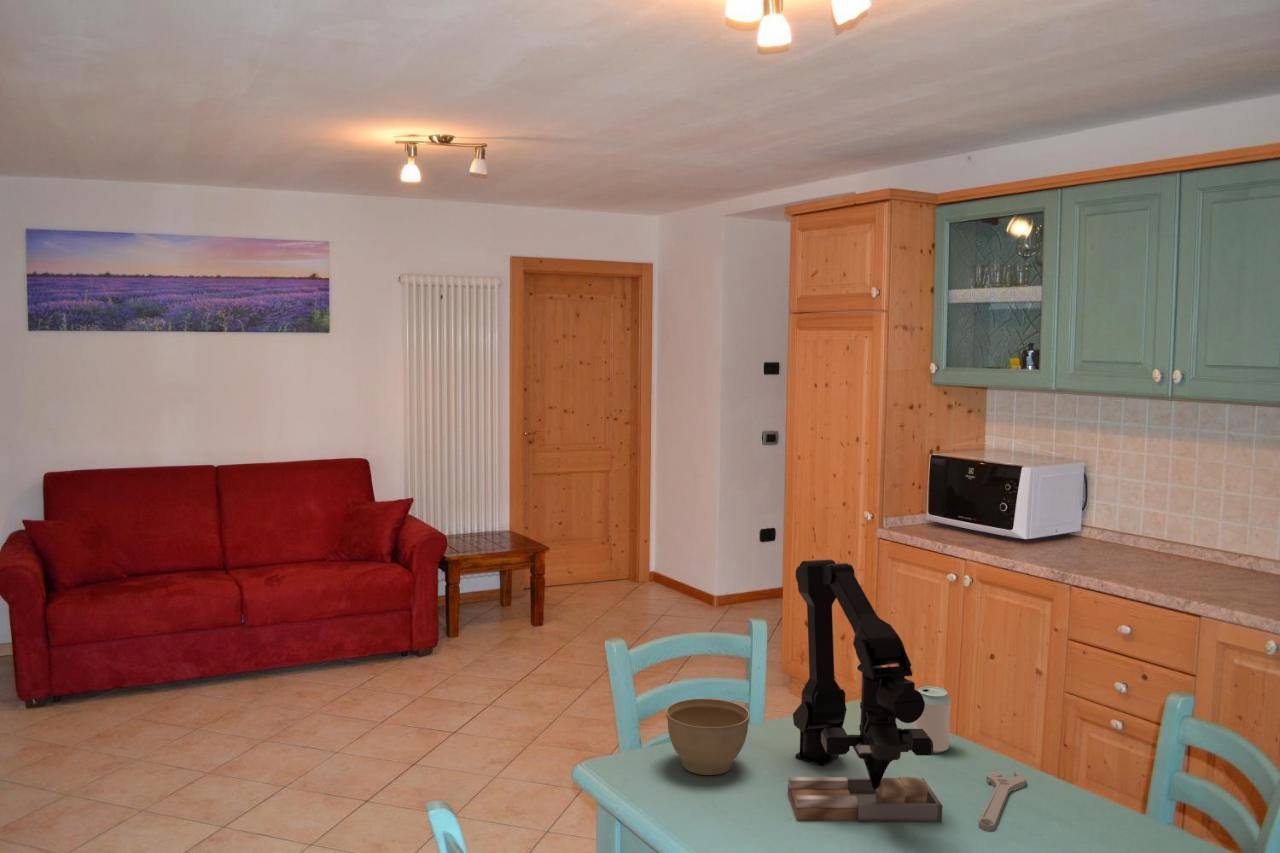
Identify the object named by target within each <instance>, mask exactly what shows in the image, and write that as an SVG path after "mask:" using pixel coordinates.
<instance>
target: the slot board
mask: <svg viewBox="0 0 1280 853" xmlns="http://www.w3.org/2000/svg"><path fill="white" fill-rule="evenodd" d="M847 778H848V777H846V776H845V777H841V776H839V777H838V776H833V777H832V776H826V777H825V776H788V783H787V796H788V797H787V798H788V800H789V802H790V805H791V807H792V810H793V813H794V816H795V819H796V821H857V822H858V808H857V801H858V800H857V798H856V796H851V794H850V793H849V791H848V780H847Z"/></svg>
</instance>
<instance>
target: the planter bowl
mask: <svg viewBox="0 0 1280 853" xmlns="http://www.w3.org/2000/svg"><path fill="white" fill-rule="evenodd" d="M665 714H666V715H665V716H666V719H667V730H668V734H669V739H670V742H671V744H672V747H673V749H674V751H675V753H676V755H678V757H679V758H680V760H681V765H682V767H683V768H684V769H685V770H686V771H688V772H690V773H692V774H696V775H702V776H717V775H722V774H725V773H727V772H728V771H730V769H732V765H733V762H734V761H735V759H737V757H738V756H739V754H740V752H741V751H742V749H743V747H744V744H745V743H746V738H747V736H748V729H749V728H748V727H749V723H750V722H749V721H750V717H751V714H750V712H749V710H748V709H747V708H746V707H745V706H743V705H742V704H740V703H736V702H733V701H730V700H725V699H718V698H705V697H704V698H703V697H702V698H689V699H683V700H680V701H677V702H674V703H672V704H670V705H669V706H668V707H667V708H666V712H665Z"/></svg>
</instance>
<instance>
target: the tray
mask: <svg viewBox="0 0 1280 853" xmlns="http://www.w3.org/2000/svg"><path fill="white" fill-rule="evenodd" d="M846 778H847V780H848V791H849V793H850V794H851V796H856V798H857V800H858V801H857V808H858V821H857V822H858V823H865V822H866V823H875V822H876V823H942V822H943V807H944V806H943V804H942V803H941V801H940V800H939V798H938V797H937V796H936V794H935V793H934V791H933V790H932V788H931V786H929V784H928V782H927V781H926V780H925V778H924V777H920V778H921V779H922V780H923V781H924V783H925V784H926V786H927V787H928V792H927V801H926V803H877V801H876V799H875V796H876V789H873V787H872V785H871V781H870V778H869V777H846ZM891 778H892V779H899V777H891Z"/></svg>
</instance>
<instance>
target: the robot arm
mask: <svg viewBox="0 0 1280 853" xmlns="http://www.w3.org/2000/svg"><path fill="white" fill-rule="evenodd" d="M855 575H856V574H855V569H854V567H853V565H852V564H849V563H845V562H844V563H843V562H842V563H841V562H840V563H836V562H835V561H834V560H833V559H831V558H830V559H818V560H817V559H815V560H814V559H813V560H812V559H811V560H802V561H801V562H800V564H799V565H798V566H797V567H796V568H795V580H796V582H797V588H798V593H799V594H800V596H801V597H802V599H803V600H804V602H805V604H806V609H807V610H806V611H807V612H806V613H807V615H806V616H807V635H808V636H807V637H808V638H807V639H808V641H807V642H808V643H807V644H808V667H809V668H808V669H809V670H808V672H809V674H808V675H809V678H808V680H807V681H806V683H805V685H804V687H803V688H802V691H801V700H800V702H801V703H800V704H799V706H798V707H797V708H796V709H795V710H794V712H793V713H792V719H793V720H792V721H793V726H794V727H796V729H798V730H799V752H797V753H796V754H795V756H794V757H795V758H796V759H800V760H803V761H805V762H808V763H812V764H815V765H819V766H823V767H824V766H826V765H828V764H829V763H830V762H832V761H834V760H835V759H837V758H838V757H839V756H840V755H841V756H842V755H844V756H845V755H846V754H847V753H848V752H849V751H850V748H851V747H852V748H853V751H855V753H856V756H857V758H859V759H861V760H863V762H864V766H865V767H866V771H867V775H868V778H870V781H871V785H872V787H873V789H878V786H879V784H880V782H881V779H882V778H884V774H885V772H886V770H887V768H888V767H889V765H890V763H891V762H892V761H898V760H900V759H901V755H902V753H908V752H909V751H911V752H912V753H913V754H914V755H915V756H926V757H927V756H928V757H929V756H932V755H934V753H933V741H932V740H931V738H930V737H929V736H928V735H927V733H926V732H925V731H924V730H923V729H914V728H900V727H898V725H897V720H898V721H900V722H902V723H904V724H911V723H914V722H915V721H916V720H918V719H919V718H920V717H921V715H922V713H923V711H924V707H925V702H924V699H923V697H922V695H921V694H920V693H919V692H918V690H916V688H915V687H916V686H915V684H916V683H915V682H914V681H913V680H911V679H907V677H912V676H913V672H912V668H911V667H912V663H911V661H910V658H909V656H908V654H907V652H906V648H905V646H904V643H903V640H902V639H901V637H900V636H899V634H898V633H897V631H896V630H895V629H894V628H893V626H892V625H891V624H889V623H888V622H886V621H885V620H883V619H882V618H880V617H879V615H877V613H876V611H875V609H874V608H873V606H872V604H871V602H870V601H869V599H868V597H867V595H866V594H865V591H864V590H863V588H862V586H861V585H860V583H859V581H858V579H857V578H856V576H855ZM836 600H837V602H838V603H839V605H840V608H841V610H842V611H843V613H844V615H845V617H846V619H847V620H848V622H849V624H850V626H851V628H852V630H853V633H854V636H853V642H852V645H853V647H854V650H855V654H856V657H857V658H858V661H859V662H860V663H859V664H858V666H857V670H858V671H859V672H861V673H862V674H861V675H862V676H861V700H860V702H859V704H860V705H859V708H860V723H859V725H858V726H859V734H848V733H847V731H846V730H845V728H844V727H843V726H844V723H845V719H846V714H847V705H846V692H845V690H844V689H842V688H841V687H840V686H839V684H838V683H837V681H836V678H835V655H834V654H835V652H834V633H833V632H834V627H833V626H834V625H833V624H834V623H833V621H834V620H833V605H834V602H835V601H836ZM897 664H898V665H897ZM891 665H893V666H891ZM894 665H895V666H894ZM883 666H885V667H883ZM905 677H906V678H905Z"/></svg>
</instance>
